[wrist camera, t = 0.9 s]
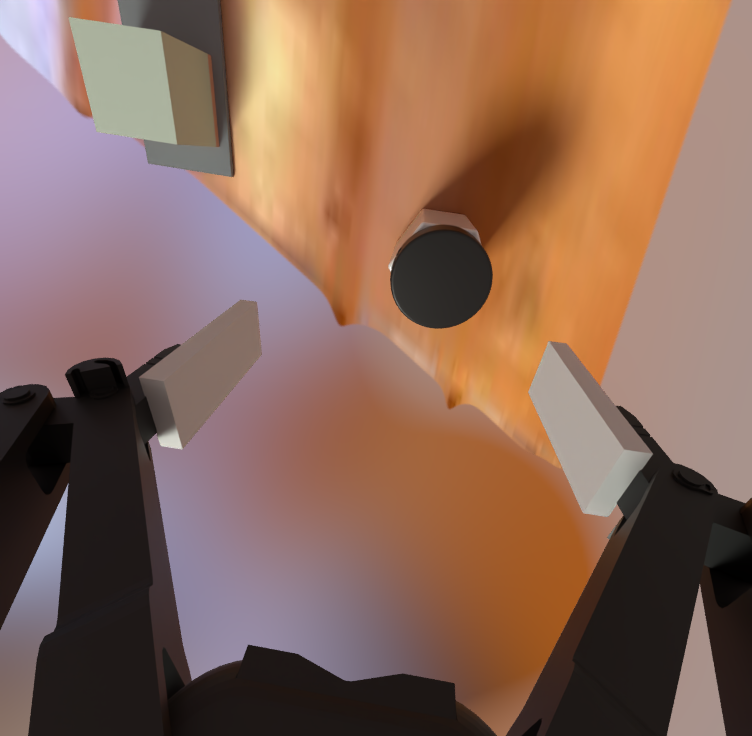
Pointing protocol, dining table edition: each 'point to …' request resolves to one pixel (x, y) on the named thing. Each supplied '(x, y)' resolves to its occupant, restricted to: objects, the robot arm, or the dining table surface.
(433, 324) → the jar
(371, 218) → the dining table surface
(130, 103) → the block
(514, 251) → the dining table surface
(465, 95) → the dining table surface
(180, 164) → the mat
